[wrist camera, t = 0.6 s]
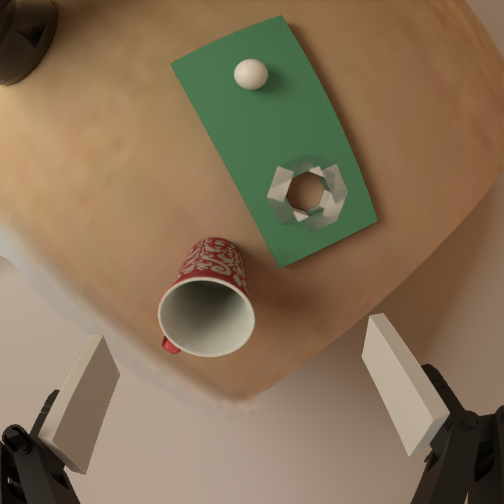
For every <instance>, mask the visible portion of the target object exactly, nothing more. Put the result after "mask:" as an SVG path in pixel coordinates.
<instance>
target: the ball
mask: <svg viewBox="0 0 504 504" xmlns="http://www.w3.org/2000/svg"><path fill="white" fill-rule="evenodd" d="M234 78H235V80H236V82H237V84H238V85H239V86H241V87H242V88H244V89H248V90H254V89H258V88H260V87H261V86H263V85H264V84H265V82H266V80H267V78H268V71H267V68H266V67H265V65H264V64H263V63H262V62H260V61H258V60H255V59H247V60H244V61H242V62H240V63H239V64H238V65H237V66H236V68H235V71H234Z"/></svg>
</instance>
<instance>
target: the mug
mask: <svg viewBox="0 0 504 504" xmlns="http://www.w3.org/2000/svg"><path fill="white" fill-rule="evenodd" d="M158 322H159V325H160V328H161V330H162V331H163V333H164V335H165V336H164V339H163V342H162V347H163V348H164V349H165V350H167V351H169V352H170V353H173V354H177V353H178V352H180V351H181V350H183V351H185V352H187V353H190V354H193V355H196V356H201V357H219V356H224V355H227V354H230V353H232V352H234V351H236V350H238V349H239V348H241V347H242V346H243V345H244V344H245V343H246V342H247V341H248V340H249V338H250V337H251V335H252V333H253V331H254V328H255V322H256V317H255V311H254V308H253V305H252V303H251V301H250V296H249V291H248V287H247V282H246V276H245V272H244V267H243V262H242V258H241V255H240V253H239V251H238V250H237V248H236V247H235V246H234V245H233V244H232V243H230V242H229V241H227V240H224V239H221V238H208V239H205V240H202V241H200V242H199V243H197V244H196V245H195V246H194V247H193V248H192V250H191V251H190V253H189V254H188V256H187V258H186V260H185V261H184V263H183V265H182V267H181V269H180V270H179V272H178V274H177V276H176V277H175V279H174V281H173V282H172V284H171V286H170V288H169V289H168V290H167V291H166V292H165V293H164V294H163V296H162V298H161V300H160V302H159V305H158Z"/></svg>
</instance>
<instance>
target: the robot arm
mask: <svg viewBox="0 0 504 504" xmlns="http://www.w3.org/2000/svg"><path fill="white" fill-rule="evenodd" d="M56 25H57V10H56V7H55V5H54V4H53V3H52V2H51V1H49V0H0V85H11V84H14V83H16V82H18V81H20V80H21V79H23V78H24V77H25V76H27V75H28V74H29V73H30V72H31V71H32V70H33V69H34V68H35V66H36V65H37V64H38V63H39V61H40V60H41V59H42V57H43V56H44V54H45V52H46V51H47V49H48V47H49V45H50V43H51V41H52V38H53V36H54V33H55V30H56ZM362 358H363V361H364V363H365V365H366V366H367V368H368V370H369V373H370V375H371V376H372V379H373V380H374V383H375V385H376V387H377V389H378V391H379V393H380V395H381V397H382V399H383V401H384V403H385V405H386V407H387V410H388V412H389V414H390V416H391V418H392V420H393V423H394V425H395V427H396V429H397V431H398V434H399V436H400V438H401V440H402V443H403V445H404V447H405V449H406V452H407V454H408V456H409V457H411V456H413V455H416V454H418V453H421V452H423V451H425V450H426V448H427V447H428V446H429V444H430V446H431V448H432V451H431V452H430V454H429V455H428V456H427V457H426V459H425V461H424V462H427V464H426V467H425V470H424V472H423V475H422V478H421V480H420V483H419V485H418V488H417V490H416V493H415V495H414V497H413V499H412V502H411V504H464V503H465V499H466V496H467V493H468V504H504V405H503V406H501V407H500V408H498V410H497V411H496V413H495V414H490V415H484V416H478V415H477V414H476V413H475V412H472V411H466V410H465V409H464V408H463V407H462V405H461V404H460V402H459V401H458V399H457V397H456V396H455V394H454V393H453V391H452V390H451V389H450V387H449V386H448V384H447V383H446V381H445V380H443V377H442V376H441V374H440V373H439V371H438V370H437V369H436V368H434V367H433V366H432V365H430V364H426V365H422V366H420V365H419V364H418V362H417V360H416V359H415V358H414V356H413V355H412V353H411V352H410V350H409V349H408V347H407V346H406V345H405V343H404V342H403V340H402V339H401V337H400V336H399V334H398V333H397V332H396V330H395V329H394V327H393V326H392V325H391V323H390V322H389V320H388V319H387V318H386V316H385V315H384V314H383V313H382V314H376V315H370V316H369V322H368V327H367V333H366V338H365V343H364V349H363V353H362ZM119 376H120V373H119V371H118V369H117V367H116V364H115V362H114V360H113V358H112V355H111V353H110V351H109V348H108V346H107V344H106V341H105V339H104V336H99V335H91V336H90V338H89V339H88V341H87V343H86V344H85V346H84V348H83V350H82V352H81V353H80V355H79V357H78V358H77V360H76V362H75V364H74V365H73V367H72V369H71V371H70V373H69V374H68V376H67V378H66V380H65V382H64V384H63V386H62V388H61V389H60V390H55V391H53V392H52V393H51V394H50V395H49V396H48V398H47V400H46V402H45V404H44V406H43V408H42V409H41V413H39V415H38V418H37V420H36V421H35V424H34V426H33V428H32V430H31V432H30V434H28V433H27V432H26V431H25V430H24V428H22V427H21V426H20V425H17V424H15V425H10V426H9V427H7V428H6V429H5V431H4V432H3V435H2V441H3V442H4V443H5V444H3V443H2V442H1V441H0V504H80V502H79V500H78V498H77V496H76V494H75V492H74V489H73V487H72V485H71V483H70V481H69V478H68V476H67V474H66V473H65V471H64V470H63V469H64V466H65V465H66V466H67V467H68V468H69V469H70V470H71V471H73V472H77V473H81V474H85V475H86V472H87V469H88V465H89V462H90V459H91V456H92V452H93V449H94V446H95V443H96V440H97V437H98V434H99V431H100V428H101V425H102V422H103V419H104V416H105V414H106V411H107V408H108V405H109V403H110V400H111V397H112V394H113V392H114V389H115V386H116V384H117V381H118V379H119ZM427 460H428V461H427ZM8 478H9V483H8Z"/></svg>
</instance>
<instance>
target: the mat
mask: <svg viewBox="0 0 504 504" xmlns="http://www.w3.org/2000/svg"><path fill="white" fill-rule="evenodd" d="M247 59H255V60H258V61H260V62H262V63H263V64H264V65H265V67H266V68H267V71H268V78H267V80H266V82H265V84H264V85H263V86H261V87H260V88H258V89H254V90H248V89H244V88H242V87H241V86H239V85H238V84H237V82H236V80H235V78H234V71H235V68H236V66H237V65H238V64H239V63H240V62H242V61H244V60H247ZM170 65H171V67H172V68H173V70H174V72H175V74H176V76H177V77H178V79H179V81H180V83H181V85H182V86H183V88H184V90H185V92H186V94H187V95H188V97H189V99H190V101H191V103H192V105H193V106H194V108H195V110H196V112H197V114H198V116H199V117H200V119H201V121H202V123H203V125H204V127H205V128H206V130H207V132H208V134H209V136H210V138H211V139H212V141H213V143H214V145H215V147H216V149H217V151H218V152H219V154H220V156H221V158H222V160H223V162H224V164H225V166H226V167H227V169H228V171H229V173H230V175H231V177H232V179H233V181H234V182H235V184H236V186H237V188H238V190H239V192H240V194H241V196H242V198H243V199H244V201H245V203H246V205H247V207H248V209H249V211H250V213H251V215H252V217H253V218H254V220H255V222H256V224H257V226H258V228H259V230H260V232H261V234H262V236H263V238H264V240H265V241H266V243H267V245H268V247H269V249H270V251H271V253H272V255H273V257H274V259H275V261H276V263H277V265H278V267H279V269H281V268H283V267H285V266H287V265H289V264H292V263H294V262H296V261H298V260H300V259H302V258H304V257H306V256H308V255H310V254H312V253H314V252H316V251H318V250H320V249H322V248H325V247H327V246H329V245H331V244H333V243H335V242H337V241H339V240H341V239H343V238H345V237H347V236H349V235H351V234H353V233H355V232H357V231H359V230H361V229H363V228H365V227H367V226H369V225H371V224H373V223H375V222H377V221H378V219H377V216H376V213H375V210H374V207H373V204H372V201H371V199H370V196H369V193H368V190H367V187H366V185H365V182H364V179H363V177H362V174H361V171H360V169H359V166H358V164H357V161H356V159H355V156H354V154H353V151H352V149H351V147H350V144H349V142H348V140H347V137H346V135H345V133H344V130H343V128H342V126H341V124H340V122H339V119H338V117H337V115H336V113H335V111H334V109H333V107H332V104H331V102H330V100H329V98H328V96H327V94H326V92H325V90H324V88H323V86H322V84H321V82H320V80H319V79H318V77H317V75H316V73H315V71H314V69H313V67H312V66H311V64H310V62H309V60H308V58H307V57H306V55H305V53H304V51H303V49H302V48H301V46H300V44H299V43H298V41H297V39H296V38H295V36H294V34H293V33H292V31H291V29H290V28H289V26H288V25H287V23H286V21H285V20H284V18H283V17H282V15H281V16H278V17H275V18H272V19H269V20H266V21H263V22H260V23H258V24H255V25H252V26H250V27H247V28H245V29H242V30H240V31H237V32H235V33H232V34H230V35H228V36H225V37H223V38H221V39H219V40H216V41H214V42H212V43H210V44H208V45H206V46H204V47H202V48H200V49H197V50H195V51H194V52H192V53H190V54H188V55H186V56H184V57H182V58H180V59H178V60H176V61H175V62H173V63H171V64H170ZM307 171H309V172H312V173H315V174H317V175H319V177H320V179H321V181H322V184H323V186H324V188H325V191H324V193H323V196H322V199H321V201H320V204H319V205H317V206H315V207H313V208H311V209H309V210H307V211H302V210H299V209H296V208H293V207H291V205H290V203H289V201H288V199H287V197H286V193H287V191H288V188H289V185H290V182H291V180H292V178H294V177H296V176H298V175H301V174H303V173H305V172H307Z"/></svg>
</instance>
